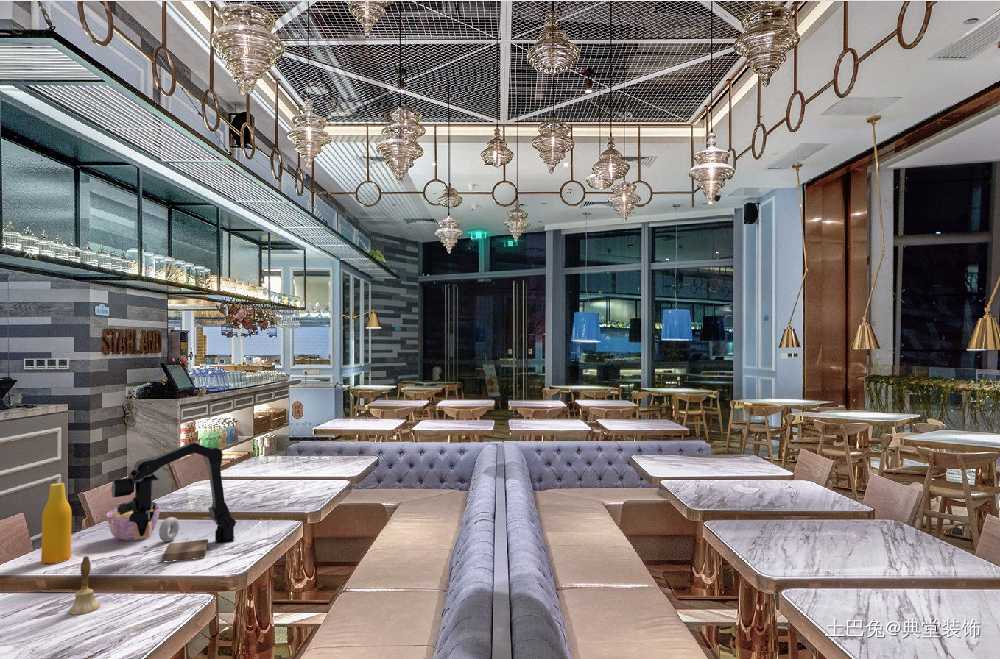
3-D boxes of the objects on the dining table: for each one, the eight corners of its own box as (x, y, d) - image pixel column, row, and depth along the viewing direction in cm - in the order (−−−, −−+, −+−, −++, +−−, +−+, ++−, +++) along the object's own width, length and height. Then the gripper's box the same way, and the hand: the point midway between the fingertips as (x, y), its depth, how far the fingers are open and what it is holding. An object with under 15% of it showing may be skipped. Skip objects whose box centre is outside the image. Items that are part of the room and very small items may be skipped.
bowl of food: (96, 547, 244) (97, 518, 244) (117, 532, 263) (117, 506, 264) (150, 543, 248) (151, 515, 248) (167, 529, 267) (167, 503, 268)
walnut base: (208, 546, 243) (208, 539, 243) (204, 557, 230) (204, 549, 230) (169, 551, 238) (169, 543, 238) (163, 562, 225) (163, 554, 225)
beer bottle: (36, 565, 223) (37, 487, 224) (47, 557, 232) (49, 482, 233) (64, 563, 226) (66, 485, 227) (75, 555, 235) (76, 480, 236)
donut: (164, 545, 245) (164, 520, 246) (156, 545, 246) (157, 520, 246) (181, 537, 255) (181, 514, 256) (173, 537, 256) (173, 513, 256)
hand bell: (78, 604, 189) (79, 553, 189) (106, 602, 189) (106, 552, 190) (61, 615, 180) (62, 562, 181) (90, 614, 181) (91, 561, 182)
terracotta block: (151, 534, 233) (151, 521, 233) (149, 537, 229) (149, 524, 229) (137, 535, 231) (137, 522, 232) (134, 539, 227) (134, 526, 227)
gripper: (125, 489, 236) (124, 529, 236) (113, 500, 219) (112, 543, 218) (157, 487, 240) (156, 526, 240) (148, 497, 223) (147, 540, 222)
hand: (143, 533), depth 230 cm, fingers closed on terracotta block, 5 cm apart
